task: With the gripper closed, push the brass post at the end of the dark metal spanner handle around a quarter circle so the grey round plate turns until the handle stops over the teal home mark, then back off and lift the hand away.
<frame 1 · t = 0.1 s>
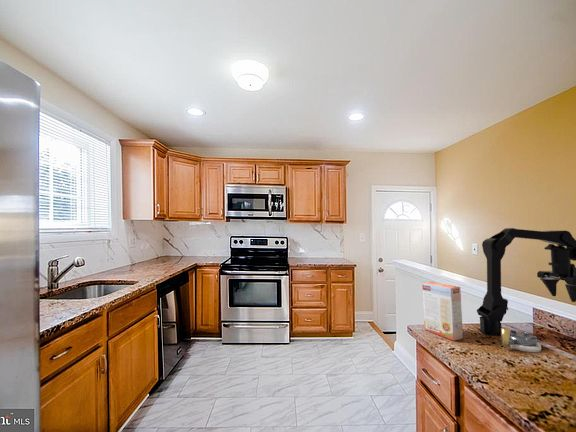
hand: (563, 298, 111), 15 cm above the worktop, tool pointing down, fingers open, 9 cm apart
cracker box: (443, 334, 114), on the worktop
grey round plate: (515, 334, 101), point 5 cm above the worktop, hinge at 0.0°
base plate: (521, 345, 102), on the worktop
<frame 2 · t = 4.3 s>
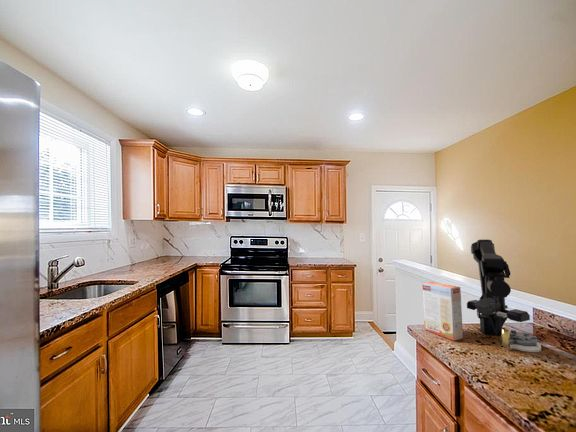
hand: (497, 333, 101), 5 cm above the worktop, tool pointing down, fingers closed
grey round plate: (515, 334, 101), point 5 cm above the worktop, hinge at 0.1°, touching gripper
everything else where it was.
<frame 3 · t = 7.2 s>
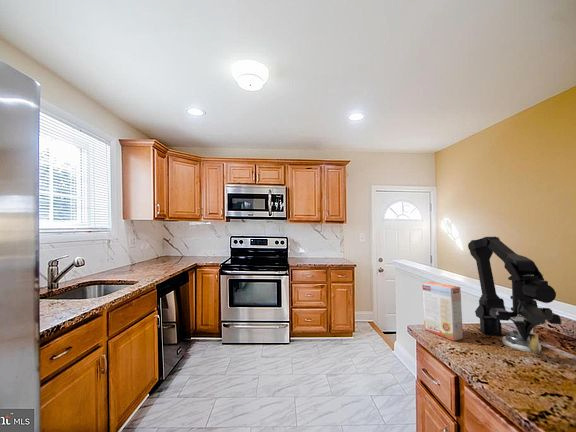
hand: (524, 340, 94), 5 cm above the worktop, tool pointing down, fingers closed
grey round plate: (524, 335, 100), point 5 cm above the worktop, hinge at 50.4°, touching gripper
everything else where it was.
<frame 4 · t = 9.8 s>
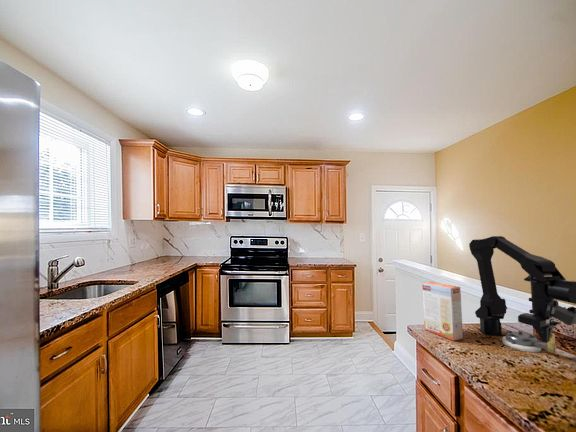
hand: (545, 342, 93), 5 cm above the worktop, tool pointing down, fingers closed
grey round plate: (529, 335, 100), point 5 cm above the worktop, hinge at 88.4°
everything else where it was.
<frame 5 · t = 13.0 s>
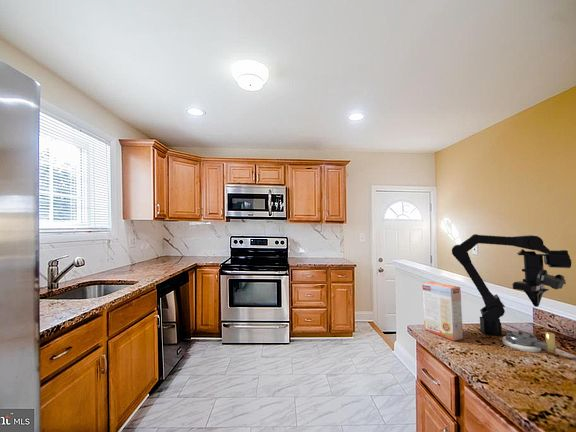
hand: (536, 306, 107), 13 cm above the worktop, tool pointing down, fingers closed
nothing on the worktop moved.
at the end: grey round plate at +88° (first picture: +0°); cracker box moved 0.2 cm from its start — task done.
